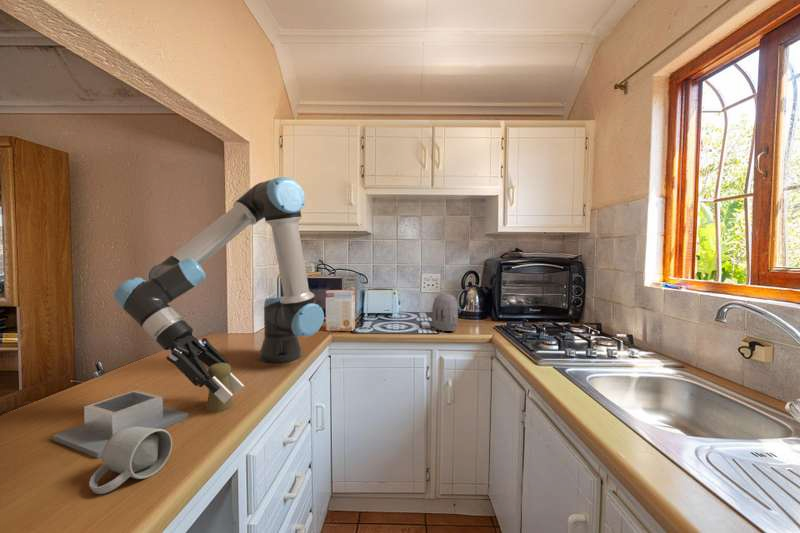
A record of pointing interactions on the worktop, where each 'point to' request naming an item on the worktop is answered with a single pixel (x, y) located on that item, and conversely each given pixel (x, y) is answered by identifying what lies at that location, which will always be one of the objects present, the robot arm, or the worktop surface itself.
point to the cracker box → (340, 310)
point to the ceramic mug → (133, 456)
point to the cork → (222, 375)
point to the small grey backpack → (445, 312)
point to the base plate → (96, 443)
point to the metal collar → (123, 412)
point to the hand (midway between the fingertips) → (234, 394)
